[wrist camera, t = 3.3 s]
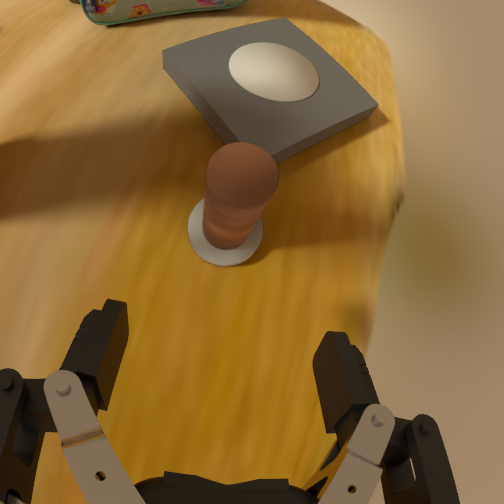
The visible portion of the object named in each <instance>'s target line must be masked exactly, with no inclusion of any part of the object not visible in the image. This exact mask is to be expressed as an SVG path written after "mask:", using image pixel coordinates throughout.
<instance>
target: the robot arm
mask: <svg viewBox="0 0 504 504" xmlns="http://www.w3.org/2000/svg"><path fill="white" fill-rule="evenodd" d="M128 335H129V327H128V314H127V304H126V302H122V301H117V300H112V299H107V300H106V302H105V304H104V306H103V308H102V310H101V311H100V310H95V309H93V310H92V311H91V312H90V313H89V314H87V315H86V316H85V317H84V319H83V321H82V323H81V325H80V327H79V329H78V331H77V333H76V335H75V337H74V339H73V341H72V344H71V346H70V348H69V350H68V352H67V354H66V357H65V359H64V361H63V363H62V366H61V368H60V369H59V370H58V371H55V372H53V373H51V374H50V375H49V376H48V377H47V378H45V379H23V378H22V377H21V375H20V374H19V373H18V372H17V371H16V370H14V369H9V368H6V369H2V370H0V504H31V499H32V493H33V487H34V481H35V476H36V470H37V465H38V461H39V456H40V452H41V447H42V443H43V439H44V435H45V432H58V433H59V436H60V438H61V441H62V444H61V446H62V450H63V452H64V455H65V457H66V459H67V462H68V464H69V466H70V468H71V470H72V473H73V475H74V477H75V479H76V481H77V483H78V485H79V487H80V489H81V491H82V493H83V494H84V496H85V498H86V500H87V502H88V504H368V502H369V500H370V498H371V496H372V494H373V492H374V490H375V487H376V486H377V483H378V481H379V479H380V477H381V483H382V488H383V494H384V500H385V504H460V501H459V497H458V493H457V489H456V485H455V481H454V478H453V474H452V470H451V467H450V463H449V460H448V456H447V453H446V450H445V447H444V443H443V440H442V437H441V434H440V431H439V428H438V425H437V423H436V422H435V420H434V419H433V418H432V417H430V416H428V415H425V414H420V415H417V416H416V417H415V418H414V419H413V420H406V419H402V418H397V417H394V415H393V414H392V412H391V411H390V410H389V409H388V408H387V407H385V406H383V405H381V404H380V403H379V400H378V397H377V394H376V391H375V388H374V385H373V382H372V379H371V377H370V375H369V371H368V368H367V367H366V363H365V360H364V357H363V354H362V353H361V352H360V351H359V349H358V348H357V347H356V346H355V345H351V344H350V341H349V338H348V336H347V334H346V333H345V332H334V331H327V332H326V334H325V335H324V337H323V339H322V341H321V343H320V345H319V347H318V349H317V351H316V353H315V355H314V358H313V371H314V376H315V381H316V385H317V390H318V395H319V400H320V404H321V409H322V414H323V419H324V424H325V429H326V434H329V433H336V435H337V439H336V440H335V441H334V443H333V445H332V446H331V448H330V450H329V451H328V453H327V455H326V456H325V458H324V460H323V461H322V463H321V464H320V466H319V468H318V469H317V471H316V472H315V474H314V475H313V476H312V477H311V478H310V479H309V481H308V482H307V483H306V484H305V485H304V487H303V488H302V489H301V488H298V487H295V486H292V485H289V482H288V479H257V480H252V481H248V482H243V483H238V484H232V485H225V484H222V483H218V482H215V481H211V480H208V479H205V478H202V477H199V476H196V475H188V474H181V473H174V472H167V471H164V477H155V478H150V479H146V480H143V481H141V482H138V483H136V484H135V485H133V483H132V482H131V480H130V478H129V477H128V475H127V473H126V472H125V470H124V468H123V467H122V465H121V463H120V462H119V460H118V458H117V456H116V454H115V453H114V451H113V449H112V447H111V445H110V443H109V441H108V440H107V438H106V436H105V434H104V432H103V430H102V428H101V426H100V424H99V422H98V420H97V418H96V417H97V413H98V410H99V409H101V410H105V411H107V409H108V405H109V401H110V398H111V394H112V391H113V387H114V384H115V380H116V377H117V374H118V370H119V367H120V364H121V361H122V358H123V354H124V351H125V348H126V345H127V341H128ZM410 458H411V459H412V463H413V467H414V472H415V476H416V479H414V475H413V471H412V466H411V462H410Z"/></svg>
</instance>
